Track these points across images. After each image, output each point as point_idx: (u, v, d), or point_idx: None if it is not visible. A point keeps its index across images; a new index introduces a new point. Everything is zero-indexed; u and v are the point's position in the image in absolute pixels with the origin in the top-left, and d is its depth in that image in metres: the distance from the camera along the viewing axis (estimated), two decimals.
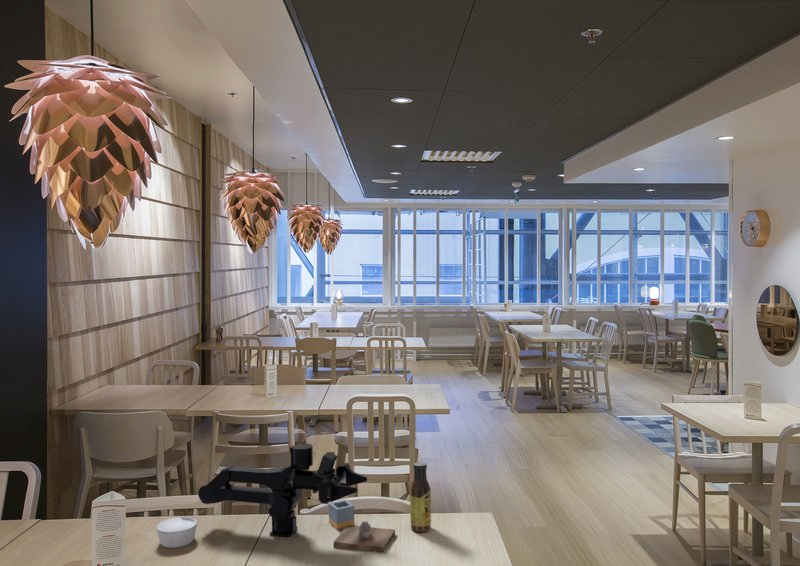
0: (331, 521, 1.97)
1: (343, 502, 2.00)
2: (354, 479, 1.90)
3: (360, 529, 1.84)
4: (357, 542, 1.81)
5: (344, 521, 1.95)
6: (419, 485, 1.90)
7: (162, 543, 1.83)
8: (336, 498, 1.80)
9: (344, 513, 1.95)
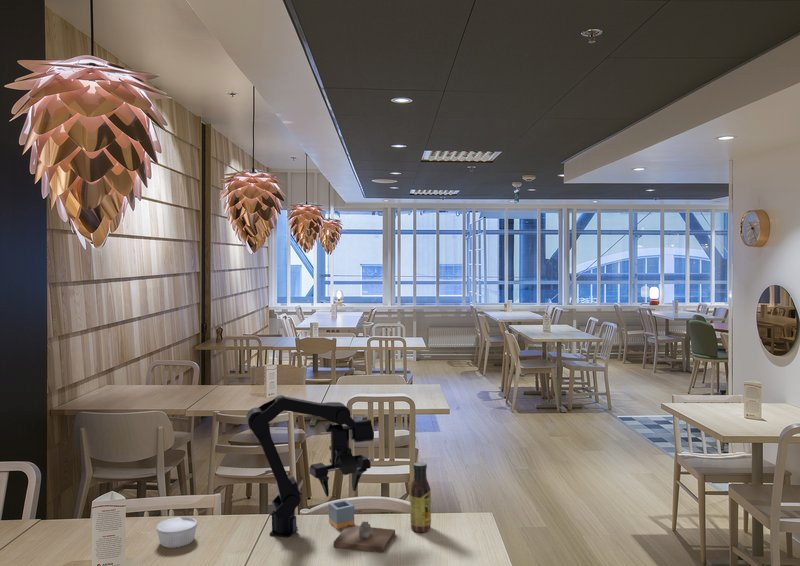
0: (331, 521, 1.97)
1: (343, 502, 2.00)
2: (353, 477, 2.00)
3: (360, 529, 1.84)
4: (357, 542, 1.81)
5: (344, 521, 1.95)
6: (419, 485, 1.90)
7: (162, 543, 1.83)
8: None
9: (344, 513, 1.95)
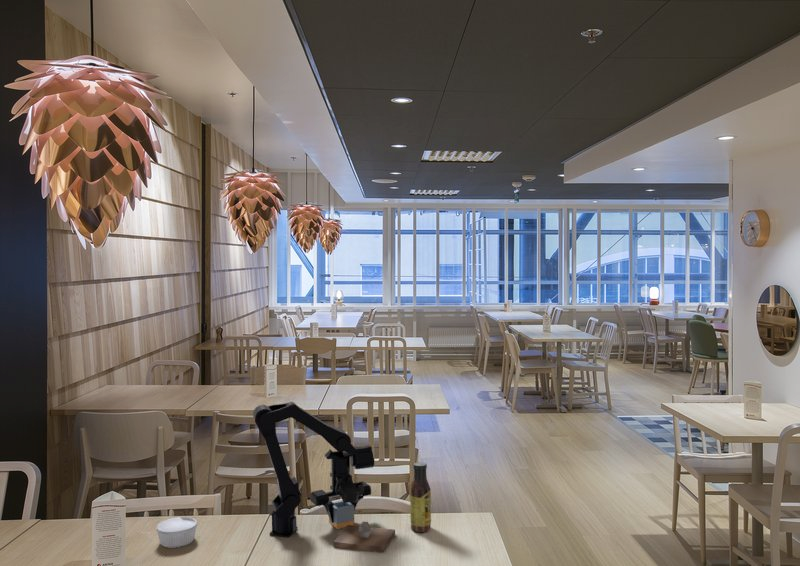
0: None
1: (343, 502, 2.00)
2: None
3: (360, 529, 1.84)
4: (357, 542, 1.81)
5: (344, 521, 1.95)
6: (419, 485, 1.90)
7: (162, 543, 1.83)
8: None
9: (344, 513, 1.95)
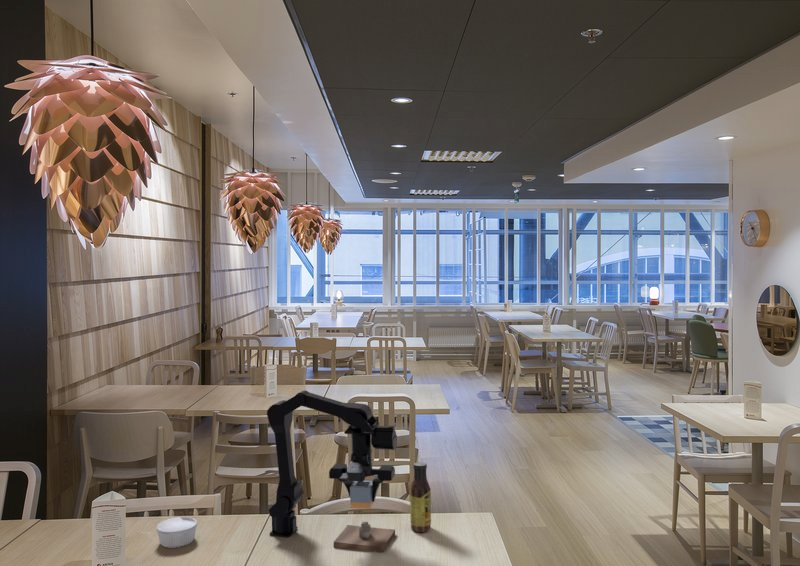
0: None
1: (369, 483, 1.88)
2: None
3: (360, 529, 1.84)
4: (357, 542, 1.81)
5: (359, 501, 1.83)
6: (419, 485, 1.90)
7: (162, 543, 1.83)
8: None
9: (359, 493, 1.83)
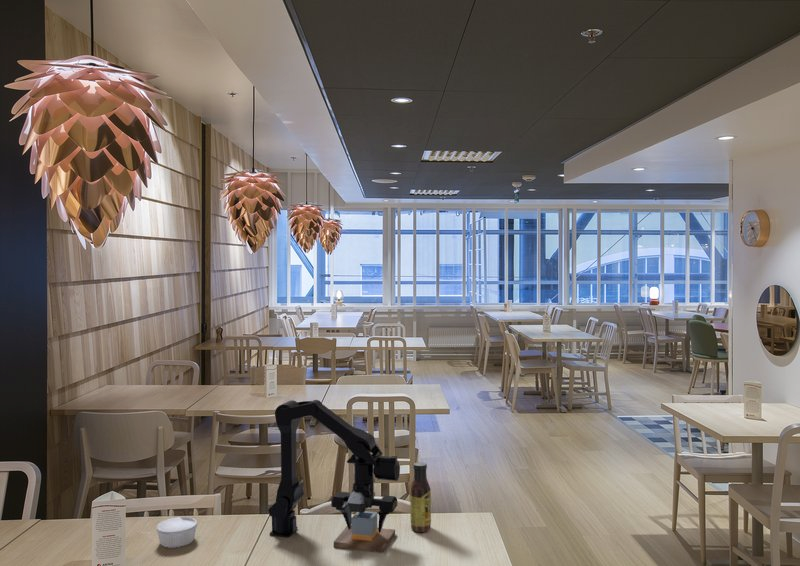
0: None
1: (372, 514, 1.86)
2: None
3: None
4: (357, 542, 1.81)
5: (360, 533, 1.82)
6: (419, 485, 1.90)
7: (162, 543, 1.83)
8: None
9: (360, 525, 1.82)
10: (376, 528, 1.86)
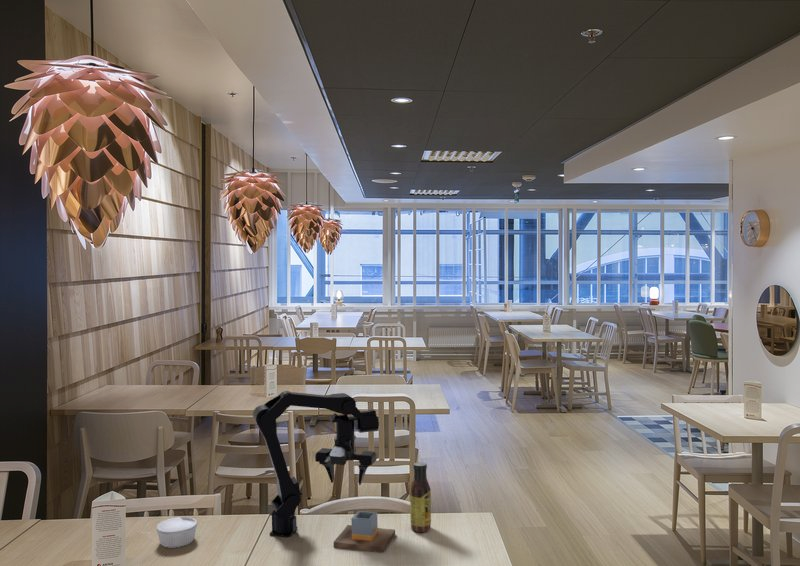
0: None
1: (372, 514, 1.86)
2: None
3: None
4: (357, 542, 1.81)
5: (360, 533, 1.82)
6: (419, 485, 1.90)
7: (162, 543, 1.83)
8: None
9: (360, 525, 1.82)
10: (376, 528, 1.86)
